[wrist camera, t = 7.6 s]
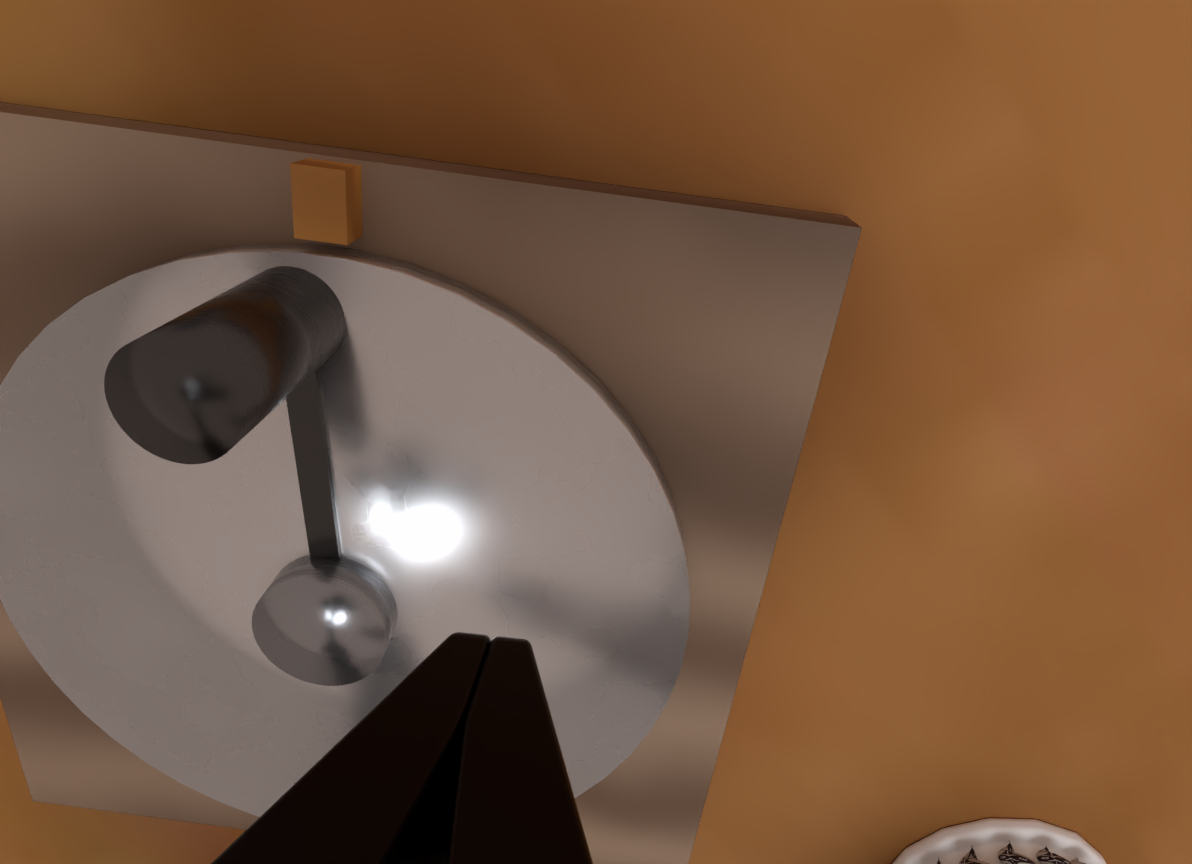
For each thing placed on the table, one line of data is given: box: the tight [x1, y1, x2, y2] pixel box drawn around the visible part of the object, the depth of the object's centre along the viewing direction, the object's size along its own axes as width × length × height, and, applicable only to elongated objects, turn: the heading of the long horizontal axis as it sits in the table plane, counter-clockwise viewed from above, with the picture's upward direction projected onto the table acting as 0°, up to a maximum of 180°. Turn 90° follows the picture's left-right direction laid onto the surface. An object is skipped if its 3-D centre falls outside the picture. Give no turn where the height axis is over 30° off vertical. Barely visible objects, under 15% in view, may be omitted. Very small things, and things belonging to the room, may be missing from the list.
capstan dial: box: [0, 243, 690, 817], centre depth 19 cm, size 20×20×6 cm
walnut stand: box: [0, 102, 862, 864], centre depth 22 cm, size 24×24×2 cm
